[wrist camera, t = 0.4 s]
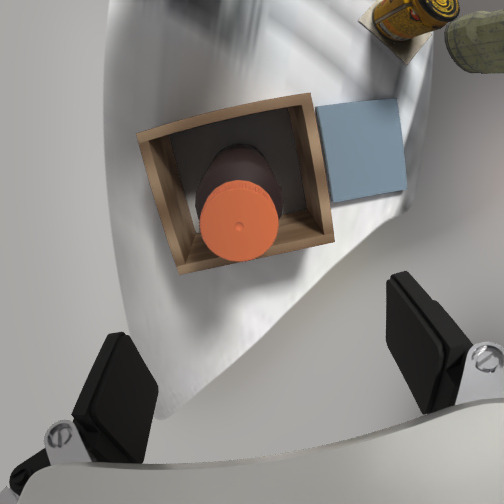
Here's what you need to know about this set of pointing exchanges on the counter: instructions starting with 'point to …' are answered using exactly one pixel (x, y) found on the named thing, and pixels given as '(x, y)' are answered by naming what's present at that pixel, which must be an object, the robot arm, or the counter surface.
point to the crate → (290, 225)
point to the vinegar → (239, 204)
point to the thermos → (477, 42)
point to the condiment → (408, 22)
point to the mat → (362, 148)
